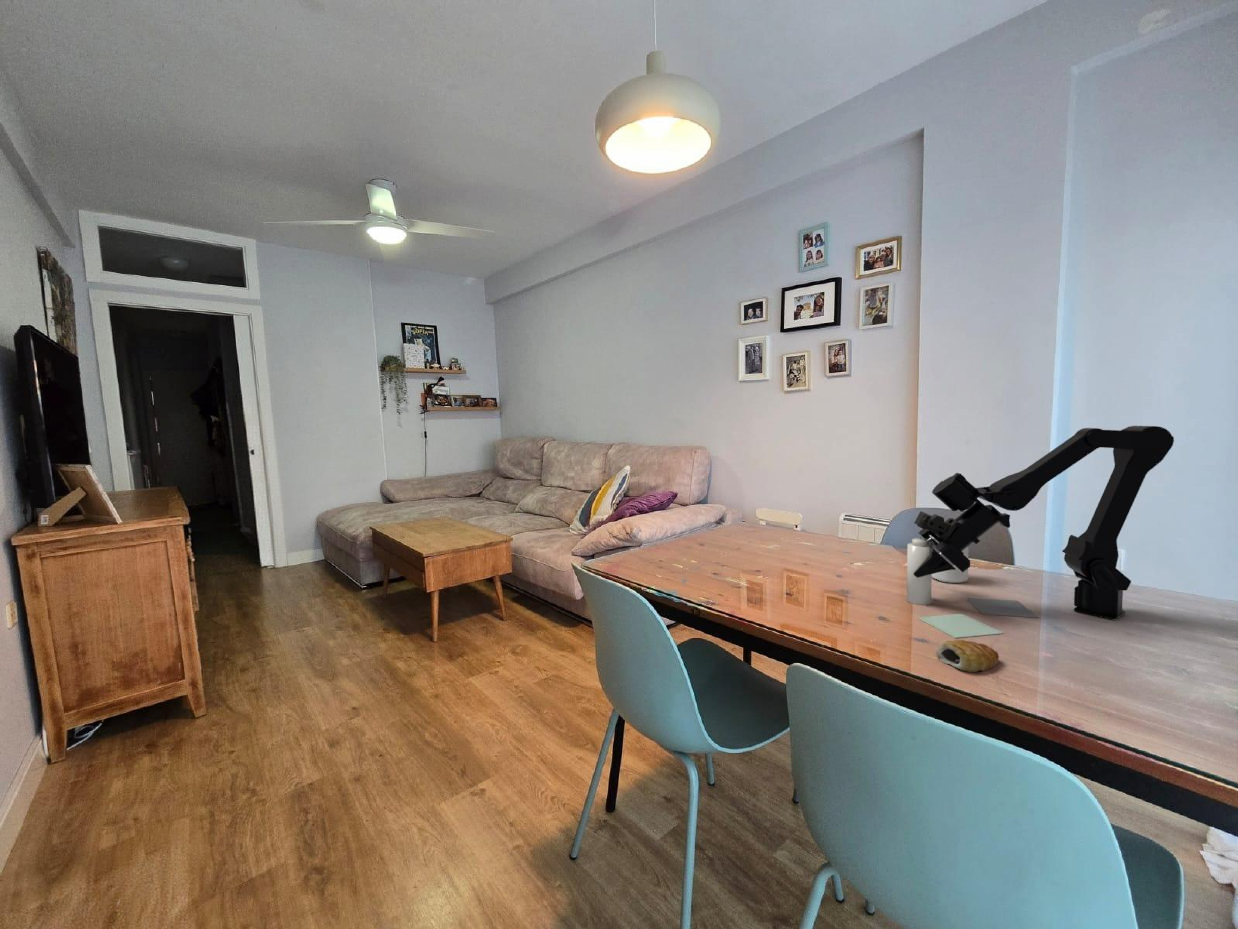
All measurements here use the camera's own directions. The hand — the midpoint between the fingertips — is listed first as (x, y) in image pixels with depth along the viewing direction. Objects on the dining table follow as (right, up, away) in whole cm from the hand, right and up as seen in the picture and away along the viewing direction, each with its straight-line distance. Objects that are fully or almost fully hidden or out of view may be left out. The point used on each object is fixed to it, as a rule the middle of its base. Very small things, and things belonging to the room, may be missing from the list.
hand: (912, 572), depth 116 cm
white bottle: (+2, -7, 0) cm, 7 cm away
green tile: (+1, -8, -14) cm, 16 cm away
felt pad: (+16, -6, -6) cm, 18 cm away
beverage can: (+18, -5, +14) cm, 23 cm away
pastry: (-7, -10, -29) cm, 31 cm away
